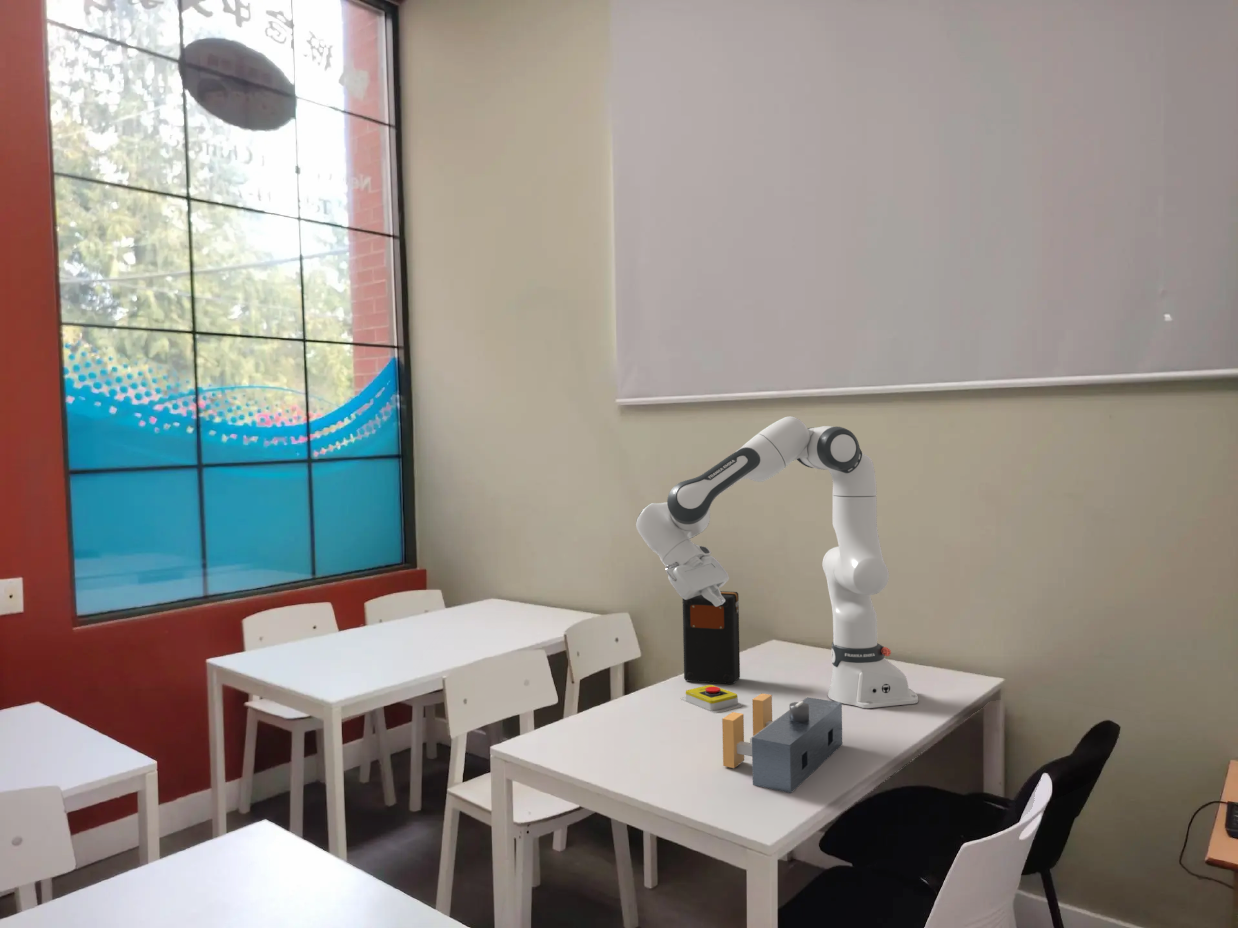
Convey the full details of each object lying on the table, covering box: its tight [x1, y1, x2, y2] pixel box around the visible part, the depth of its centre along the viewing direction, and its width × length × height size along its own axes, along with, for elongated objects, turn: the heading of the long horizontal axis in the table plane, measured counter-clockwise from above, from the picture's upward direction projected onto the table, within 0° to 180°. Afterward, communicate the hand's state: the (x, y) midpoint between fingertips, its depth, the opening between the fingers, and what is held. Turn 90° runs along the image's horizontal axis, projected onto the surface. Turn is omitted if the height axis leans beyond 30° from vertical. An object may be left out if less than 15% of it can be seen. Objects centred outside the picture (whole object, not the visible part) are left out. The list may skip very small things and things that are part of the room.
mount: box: [749, 697, 843, 794], centre depth 185 cm, size 8×30×10 cm, turn 147°
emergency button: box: [680, 684, 743, 714], centre depth 227 cm, size 9×4×15 cm
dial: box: [788, 700, 809, 722], centre depth 184 cm, size 4×4×3 cm
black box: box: [682, 590, 741, 685], centre depth 247 cm, size 16×9×25 cm, turn 71°
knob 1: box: [721, 711, 752, 769], centre depth 181 cm, size 14×5×10 cm, turn 57°
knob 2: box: [751, 693, 774, 737], centre depth 194 cm, size 14×5×10 cm, turn 57°
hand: (721, 603), depth 208 cm, fingers closed
